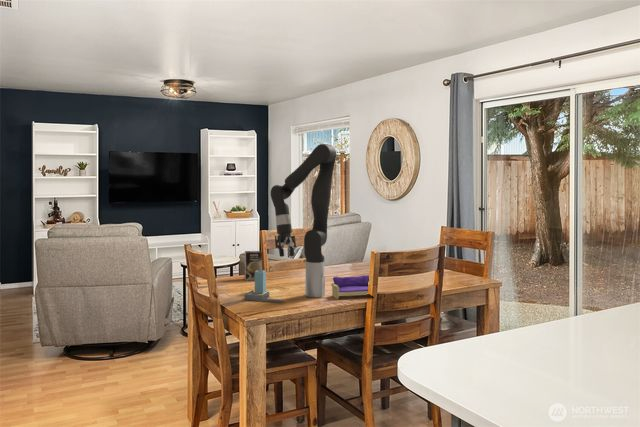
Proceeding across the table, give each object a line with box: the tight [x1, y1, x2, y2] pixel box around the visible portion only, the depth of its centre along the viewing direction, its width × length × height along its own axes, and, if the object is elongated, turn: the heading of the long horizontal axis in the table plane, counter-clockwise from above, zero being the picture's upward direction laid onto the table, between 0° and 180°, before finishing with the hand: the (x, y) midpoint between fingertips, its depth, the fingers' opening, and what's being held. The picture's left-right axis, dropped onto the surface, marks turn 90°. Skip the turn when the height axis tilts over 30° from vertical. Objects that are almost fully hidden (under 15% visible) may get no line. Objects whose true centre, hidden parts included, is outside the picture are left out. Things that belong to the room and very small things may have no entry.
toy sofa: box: [330, 274, 370, 300], centre depth 271 cm, size 21×9×10 cm, turn 106°
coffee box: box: [243, 250, 263, 282], centre depth 309 cm, size 9×6×16 cm
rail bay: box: [243, 289, 284, 304], centre depth 262 cm, size 19×10×2 cm, turn 75°
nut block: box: [254, 269, 267, 295], centre depth 276 cm, size 4×4×11 cm
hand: (287, 256), depth 272 cm, fingers open, 8 cm apart
